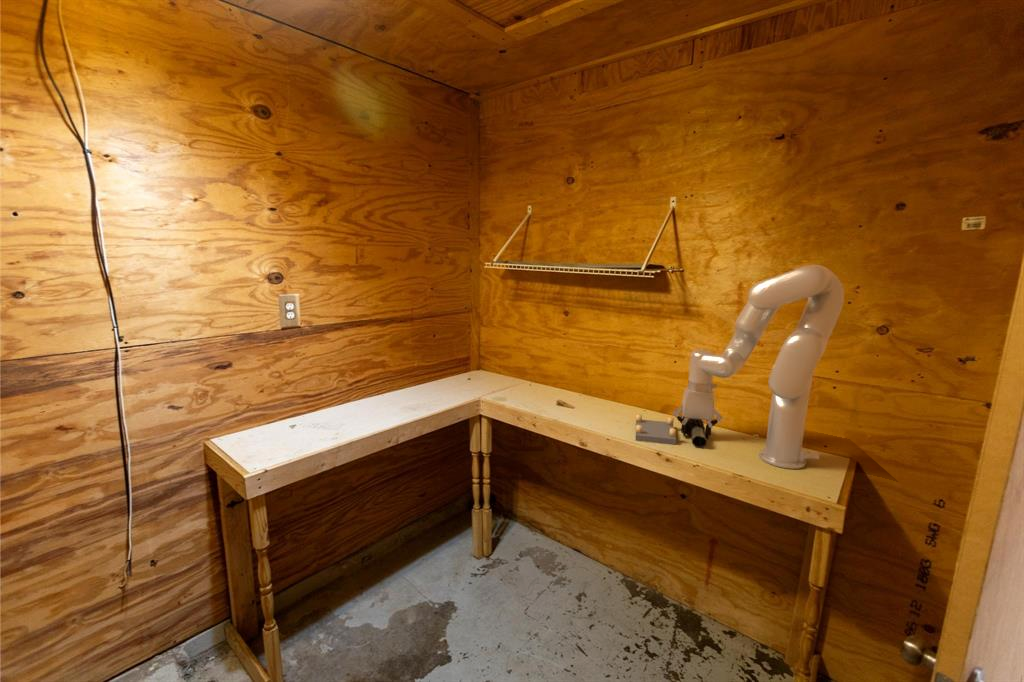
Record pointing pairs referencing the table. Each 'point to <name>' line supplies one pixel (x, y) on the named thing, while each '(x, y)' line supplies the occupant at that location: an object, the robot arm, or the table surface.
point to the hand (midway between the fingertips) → (695, 435)
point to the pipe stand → (655, 431)
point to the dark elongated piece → (696, 432)
